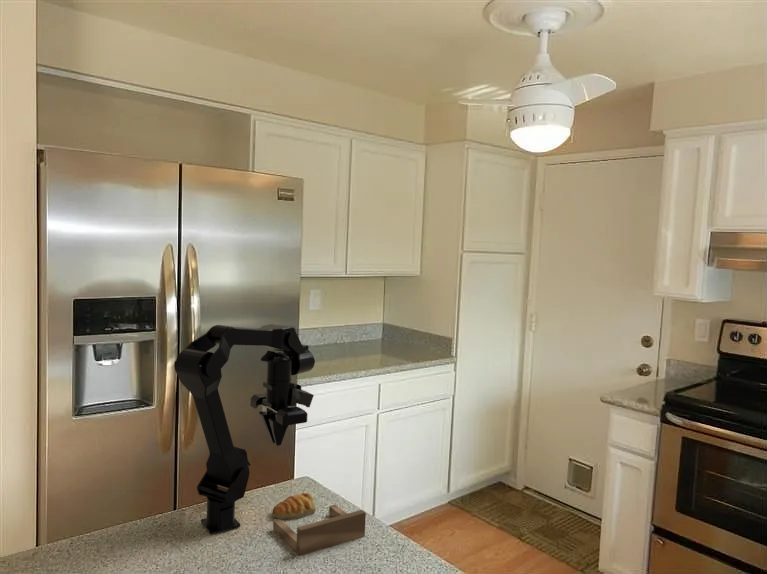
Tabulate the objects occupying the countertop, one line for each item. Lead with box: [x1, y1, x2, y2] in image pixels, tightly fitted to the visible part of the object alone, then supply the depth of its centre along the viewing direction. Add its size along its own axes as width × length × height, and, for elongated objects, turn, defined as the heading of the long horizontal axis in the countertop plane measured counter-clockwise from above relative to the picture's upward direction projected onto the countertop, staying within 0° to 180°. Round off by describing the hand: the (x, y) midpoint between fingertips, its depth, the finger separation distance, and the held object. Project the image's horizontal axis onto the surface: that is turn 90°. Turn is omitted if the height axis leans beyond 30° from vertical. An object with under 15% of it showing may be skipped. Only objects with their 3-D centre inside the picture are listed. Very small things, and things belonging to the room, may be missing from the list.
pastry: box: [271, 492, 317, 521], centre depth 130 cm, size 9×7×4 cm
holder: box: [272, 504, 367, 556], centre depth 121 cm, size 12×15×5 cm
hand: (276, 444), depth 138 cm, fingers closed
